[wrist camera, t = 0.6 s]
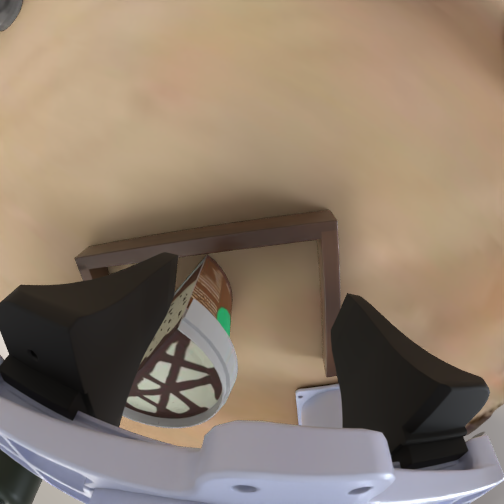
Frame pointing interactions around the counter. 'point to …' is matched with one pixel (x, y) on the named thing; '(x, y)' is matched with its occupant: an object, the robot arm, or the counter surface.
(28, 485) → the wine bottle
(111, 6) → the counter surface
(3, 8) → the beverage cup
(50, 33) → the counter surface
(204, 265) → the food container
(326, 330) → the brown frame
